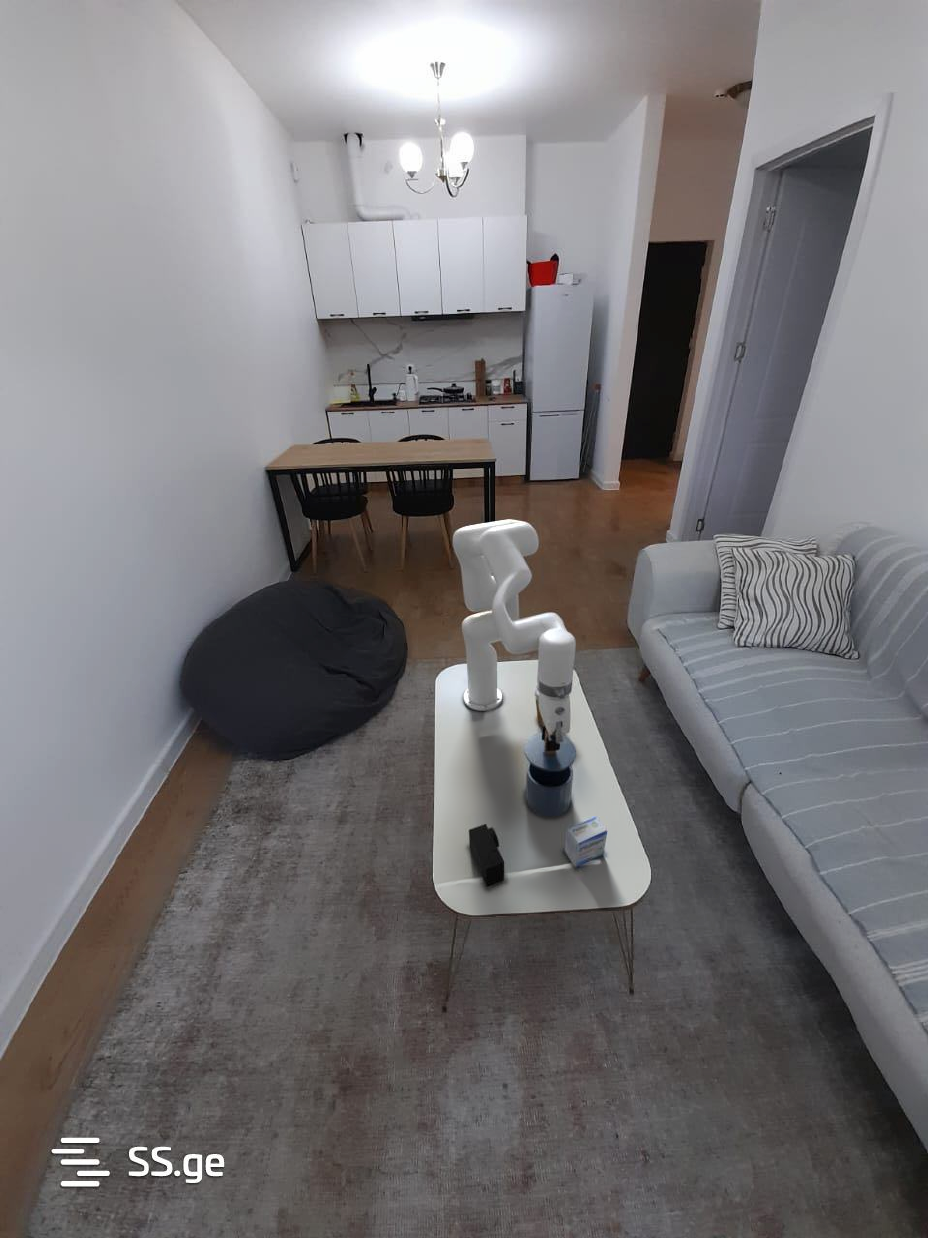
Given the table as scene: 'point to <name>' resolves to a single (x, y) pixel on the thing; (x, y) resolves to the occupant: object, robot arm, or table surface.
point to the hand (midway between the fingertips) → (550, 744)
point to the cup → (548, 790)
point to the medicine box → (585, 841)
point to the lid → (549, 753)
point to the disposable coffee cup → (536, 695)
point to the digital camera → (487, 854)
